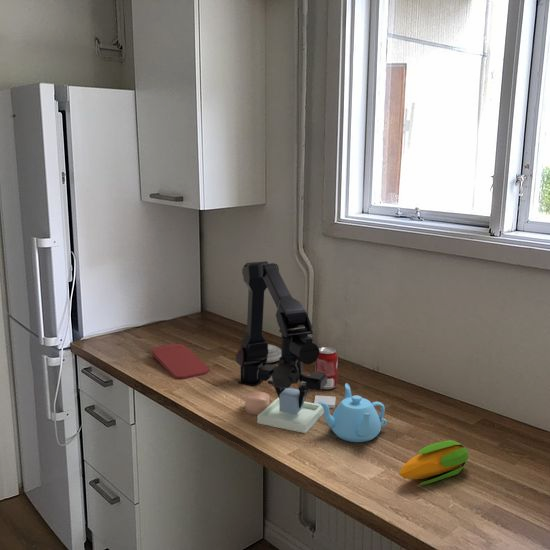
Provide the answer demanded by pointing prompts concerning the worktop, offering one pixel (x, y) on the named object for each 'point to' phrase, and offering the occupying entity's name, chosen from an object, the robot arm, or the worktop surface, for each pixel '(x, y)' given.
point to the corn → (436, 461)
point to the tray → (291, 416)
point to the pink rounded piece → (256, 402)
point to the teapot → (355, 418)
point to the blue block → (290, 401)
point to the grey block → (326, 400)
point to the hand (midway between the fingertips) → (291, 405)
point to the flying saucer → (273, 353)
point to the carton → (179, 361)
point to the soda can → (328, 366)
